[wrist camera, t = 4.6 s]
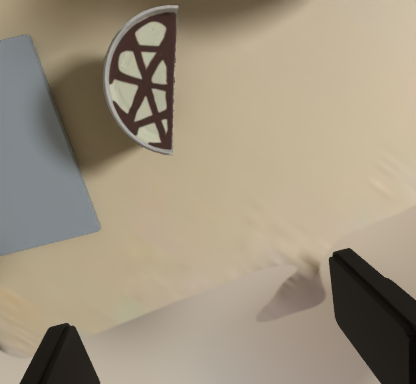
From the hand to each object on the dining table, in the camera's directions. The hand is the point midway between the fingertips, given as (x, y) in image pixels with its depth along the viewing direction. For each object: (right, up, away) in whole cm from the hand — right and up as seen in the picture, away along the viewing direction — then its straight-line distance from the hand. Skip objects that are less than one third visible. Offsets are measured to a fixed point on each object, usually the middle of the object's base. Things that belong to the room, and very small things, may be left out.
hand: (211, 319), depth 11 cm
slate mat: (-24, +8, +23) cm, 34 cm away
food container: (-7, +16, +23) cm, 29 cm away
